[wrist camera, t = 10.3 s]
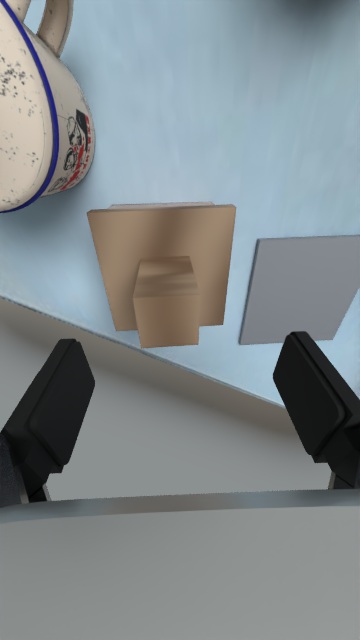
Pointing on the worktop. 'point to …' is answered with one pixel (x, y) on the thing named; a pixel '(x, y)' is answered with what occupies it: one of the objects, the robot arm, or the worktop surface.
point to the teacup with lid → (39, 108)
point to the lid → (165, 268)
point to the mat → (300, 287)
